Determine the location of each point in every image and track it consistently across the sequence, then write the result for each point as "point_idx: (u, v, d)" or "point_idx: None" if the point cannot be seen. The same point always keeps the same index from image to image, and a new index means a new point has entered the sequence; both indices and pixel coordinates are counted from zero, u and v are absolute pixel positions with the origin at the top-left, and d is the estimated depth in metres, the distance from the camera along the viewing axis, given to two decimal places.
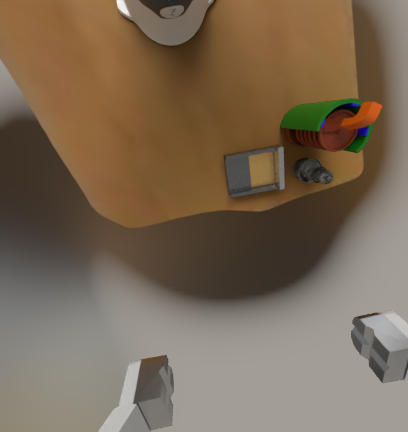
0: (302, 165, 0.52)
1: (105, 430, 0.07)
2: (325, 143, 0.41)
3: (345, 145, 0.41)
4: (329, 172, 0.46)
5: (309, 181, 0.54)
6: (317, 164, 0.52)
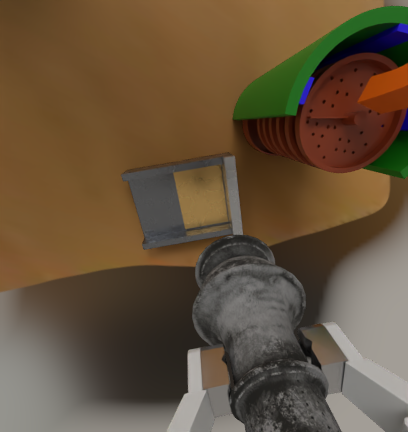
0: (206, 292, 0.11)
1: (181, 415, 0.07)
2: (316, 151, 0.15)
3: (369, 157, 0.15)
4: None
5: None
6: (281, 291, 0.10)
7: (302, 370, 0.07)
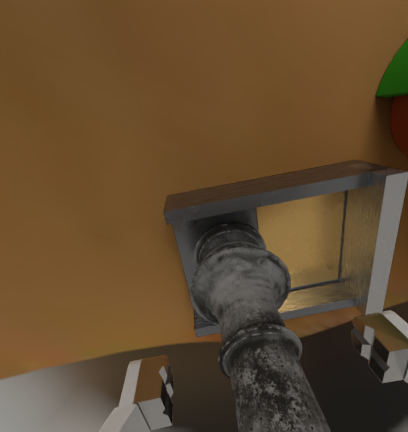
0: (201, 272, 0.12)
1: (105, 430, 0.07)
2: None
3: None
4: None
5: None
6: (267, 271, 0.12)
7: (278, 332, 0.09)
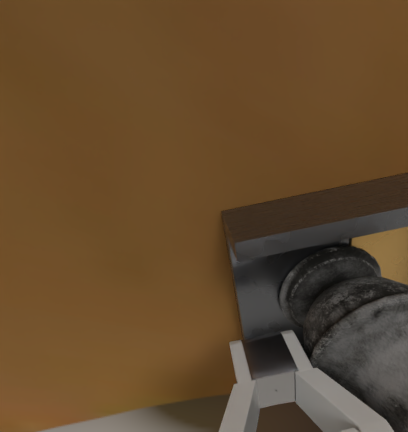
0: (341, 334, 0.07)
1: (234, 404, 0.07)
2: None
3: None
4: None
5: None
6: None
7: None
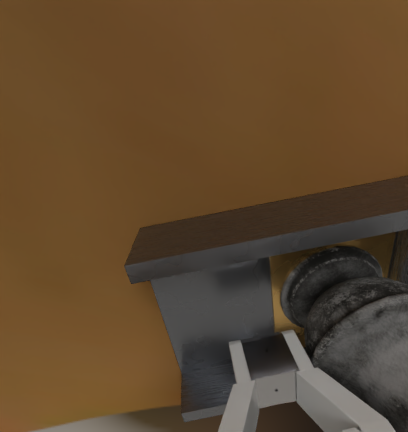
0: (343, 334, 0.07)
1: (234, 404, 0.07)
2: None
3: None
4: None
5: None
6: None
7: None
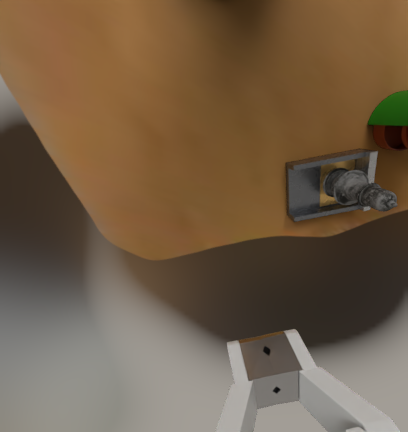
0: (340, 179, 0.35)
1: (231, 405, 0.07)
2: None
3: None
4: (391, 194, 0.29)
5: (348, 202, 0.37)
6: (363, 178, 0.35)
7: (376, 184, 0.32)
